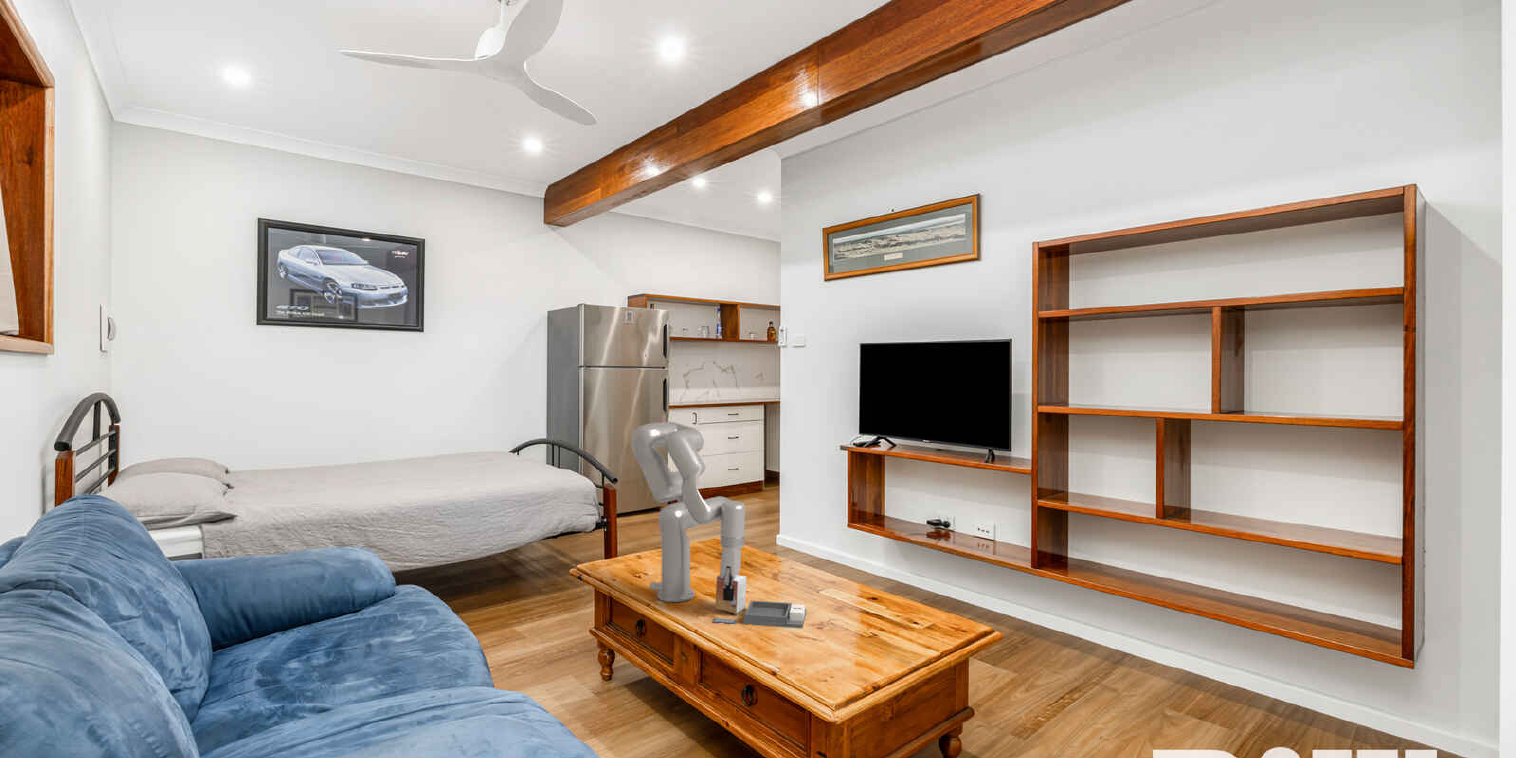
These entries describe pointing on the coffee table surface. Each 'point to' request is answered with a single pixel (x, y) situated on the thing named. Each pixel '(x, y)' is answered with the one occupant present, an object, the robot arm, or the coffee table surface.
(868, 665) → the coffee table surface
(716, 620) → the phone
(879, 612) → the coffee table surface
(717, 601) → the small box
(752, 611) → the grey tray
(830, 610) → the coffee table surface
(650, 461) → the robot arm
